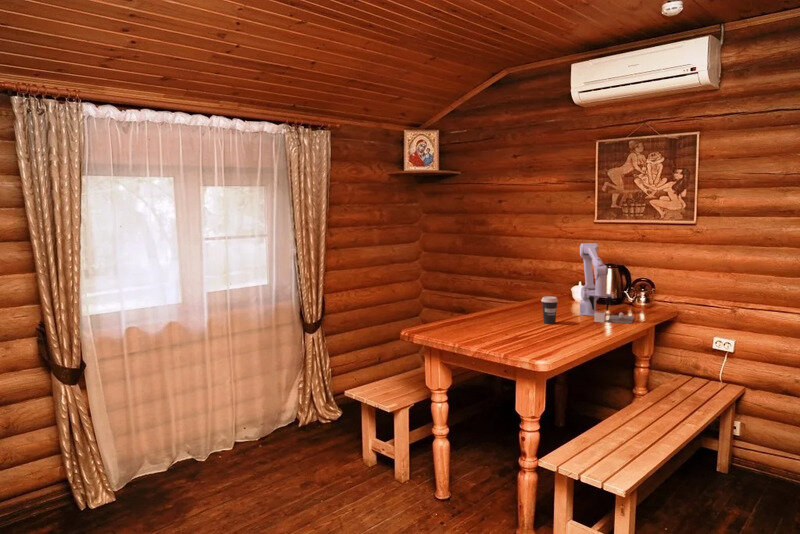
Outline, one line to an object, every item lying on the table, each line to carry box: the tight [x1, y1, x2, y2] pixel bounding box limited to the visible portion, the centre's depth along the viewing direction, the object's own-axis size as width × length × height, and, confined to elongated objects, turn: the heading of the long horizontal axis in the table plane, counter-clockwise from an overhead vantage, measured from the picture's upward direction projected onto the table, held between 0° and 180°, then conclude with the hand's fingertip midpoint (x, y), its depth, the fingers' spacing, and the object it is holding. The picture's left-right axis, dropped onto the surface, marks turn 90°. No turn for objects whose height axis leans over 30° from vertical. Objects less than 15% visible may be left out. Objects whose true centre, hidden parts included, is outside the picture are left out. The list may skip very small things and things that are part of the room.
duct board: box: [607, 312, 635, 325], centre depth 336 cm, size 13×18×4 cm
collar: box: [593, 311, 607, 323], centre depth 334 cm, size 6×6×5 cm
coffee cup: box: [540, 295, 559, 325], centre depth 331 cm, size 10×10×15 cm
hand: (600, 309), depth 333 cm, fingers open, 7 cm apart
